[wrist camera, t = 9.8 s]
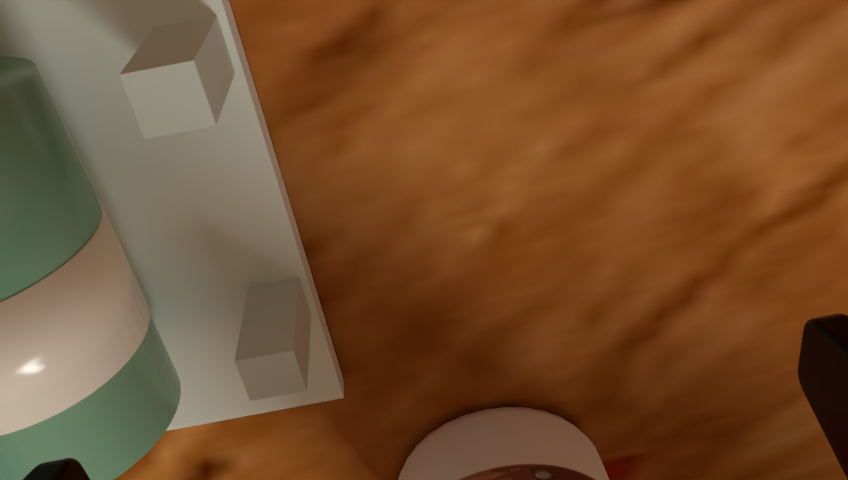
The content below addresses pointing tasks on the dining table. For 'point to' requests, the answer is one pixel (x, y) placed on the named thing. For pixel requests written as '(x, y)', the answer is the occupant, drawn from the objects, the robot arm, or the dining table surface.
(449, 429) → the milk bottle
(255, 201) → the white four-legged tray
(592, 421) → the dining table surface
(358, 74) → the dining table surface
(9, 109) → the bottle
